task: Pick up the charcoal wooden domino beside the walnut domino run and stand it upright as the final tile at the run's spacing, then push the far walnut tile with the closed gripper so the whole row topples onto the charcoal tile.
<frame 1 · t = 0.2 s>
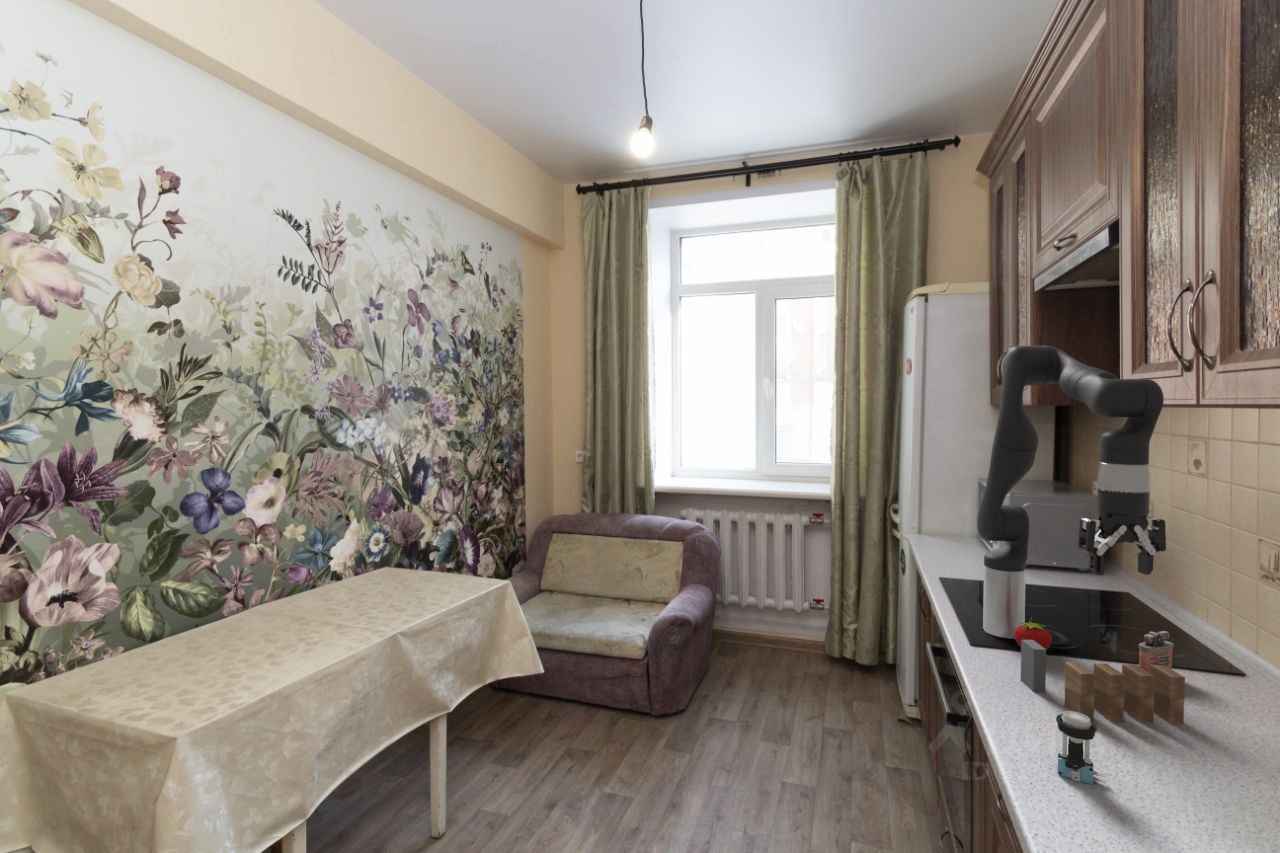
hand: (1120, 573, 112), 28 cm above the counter, fingers open, 8 cm apart
walnut tile 3: (1107, 714, 116), on the counter
push button: (1080, 779, 97), on the counter
strawberry: (1032, 659, 141), on the counter
charcoal tile: (1032, 686, 128), on the counter
walnut tile 1: (1166, 717, 115), on the counter
walnut tile 2: (1136, 716, 116), on the counter
lighter: (1155, 678, 131), on the counter
walnut tile 4: (1078, 713, 117), on the counter
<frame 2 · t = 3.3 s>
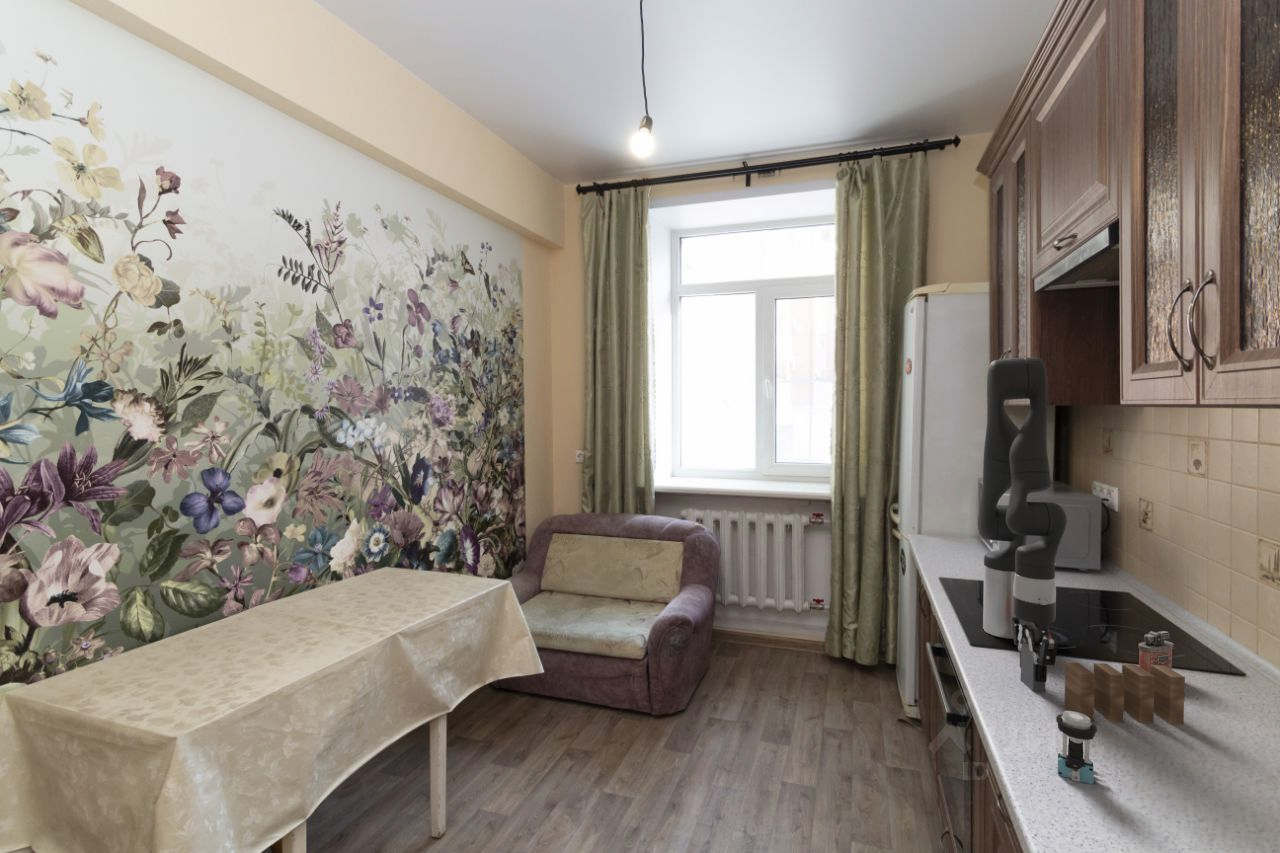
hand: (1032, 674, 128), 2 cm above the counter, fingers closed on charcoal tile, 5 cm apart
charcoal tile: (1032, 686, 128), on the counter, touching gripper
everything else where it was.
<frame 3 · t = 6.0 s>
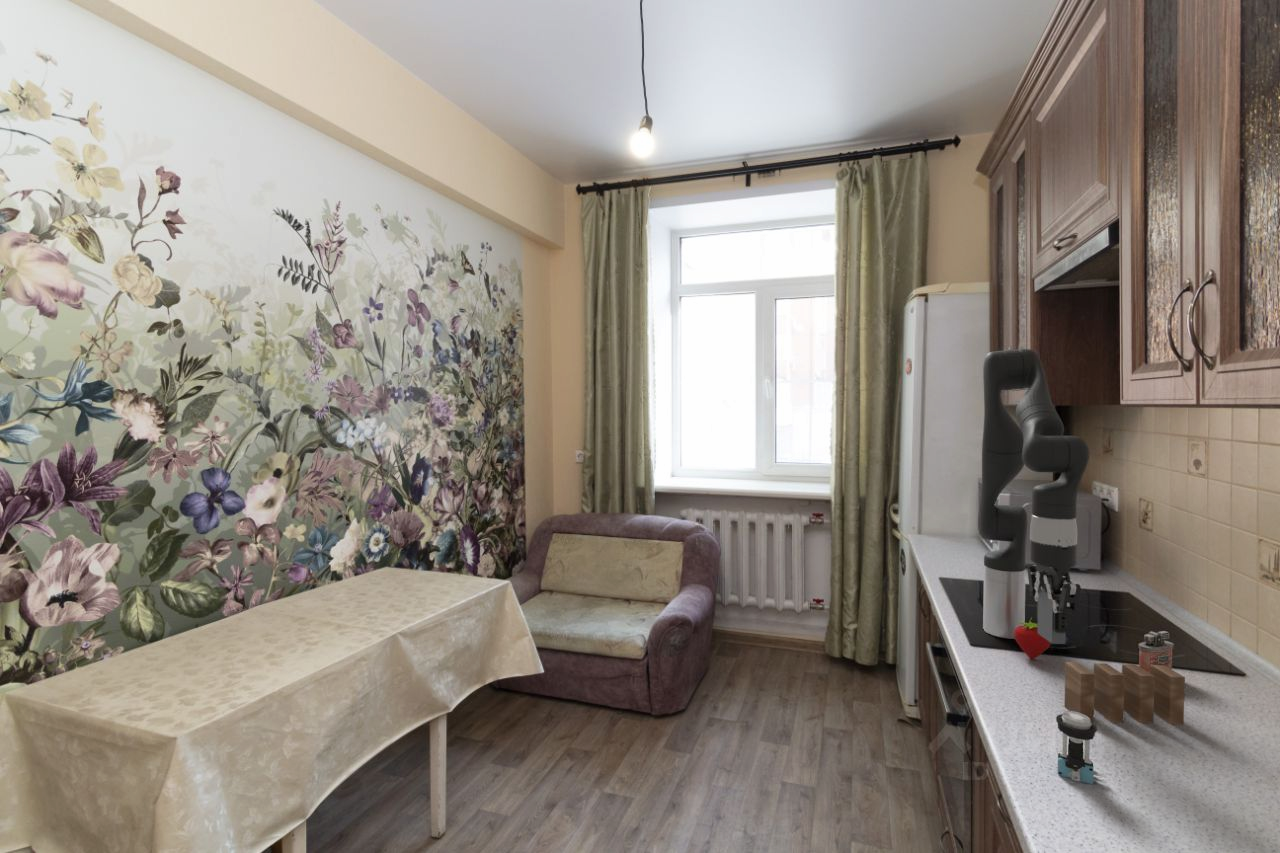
hand: (1051, 626, 117), 17 cm above the counter, fingers closed on charcoal tile, 5 cm apart
charcoal tile: (1051, 638, 117), point 15 cm above the counter, touching gripper
everything else where it was.
when the fingers open (3 cm above the counter, at t = 8.9 s): charcoal tile stays where it is, on the counter.
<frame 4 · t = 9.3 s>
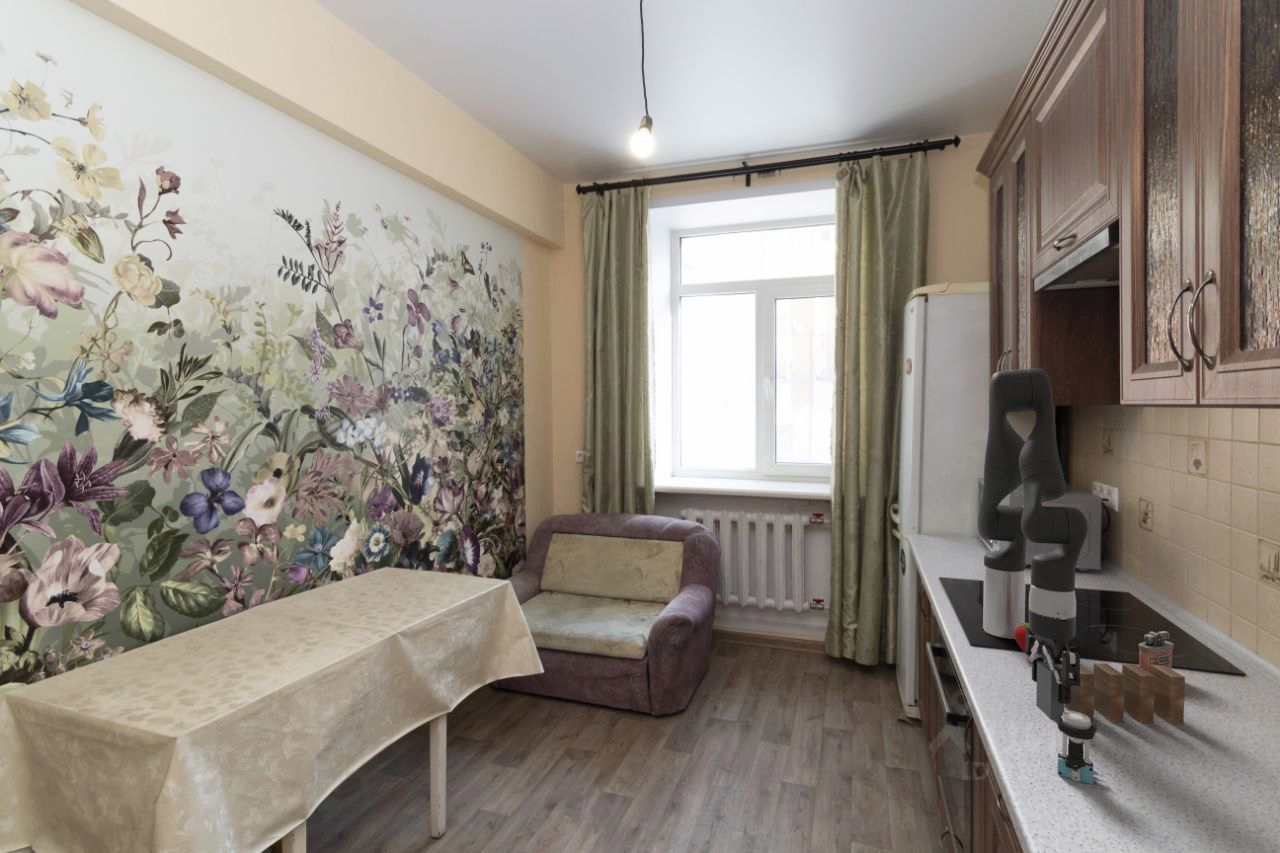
hand: (1050, 691, 117), 4 cm above the counter, fingers open, 8 cm apart
charcoal tile: (1049, 712, 118), on the counter
everything else where it was.
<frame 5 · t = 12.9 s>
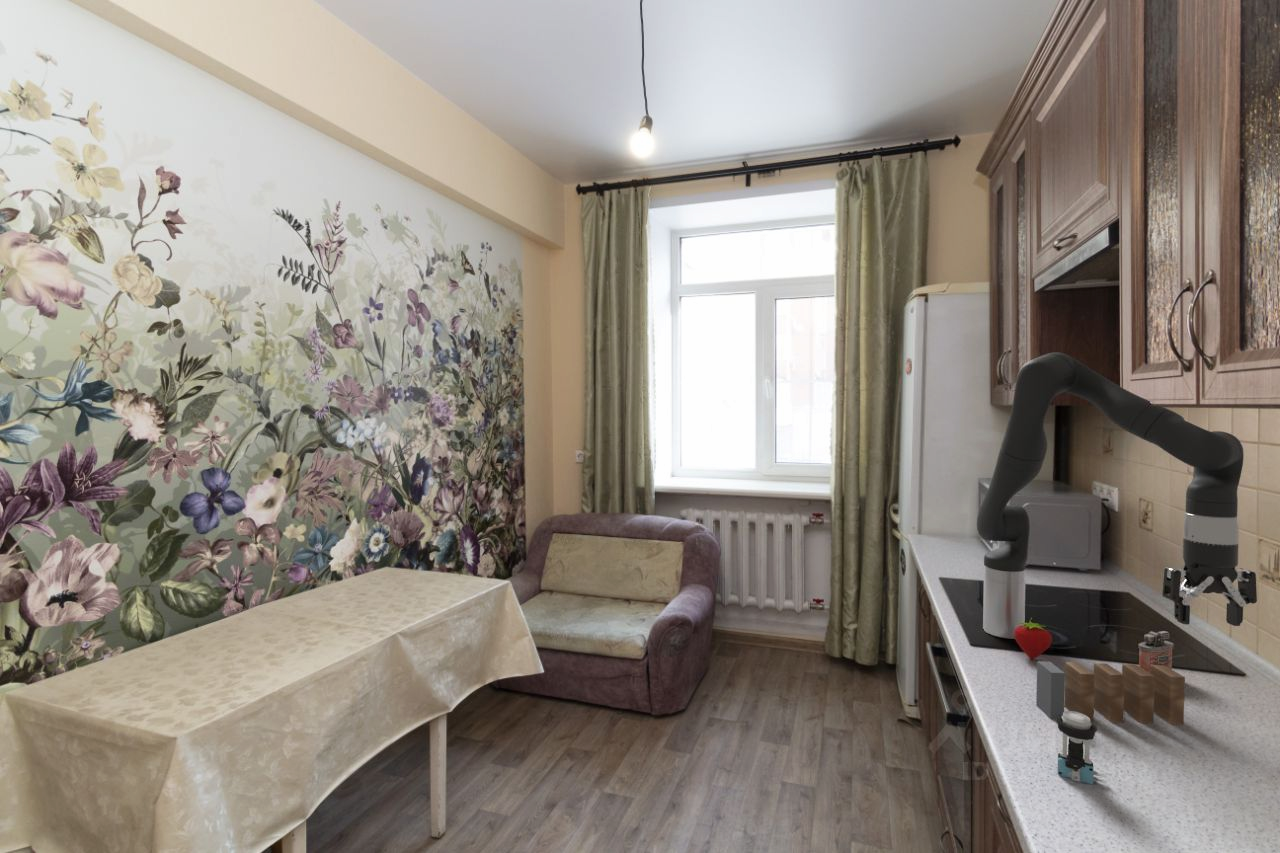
hand: (1208, 623, 113), 18 cm above the counter, fingers open, 8 cm apart
nothing on the counter moved.
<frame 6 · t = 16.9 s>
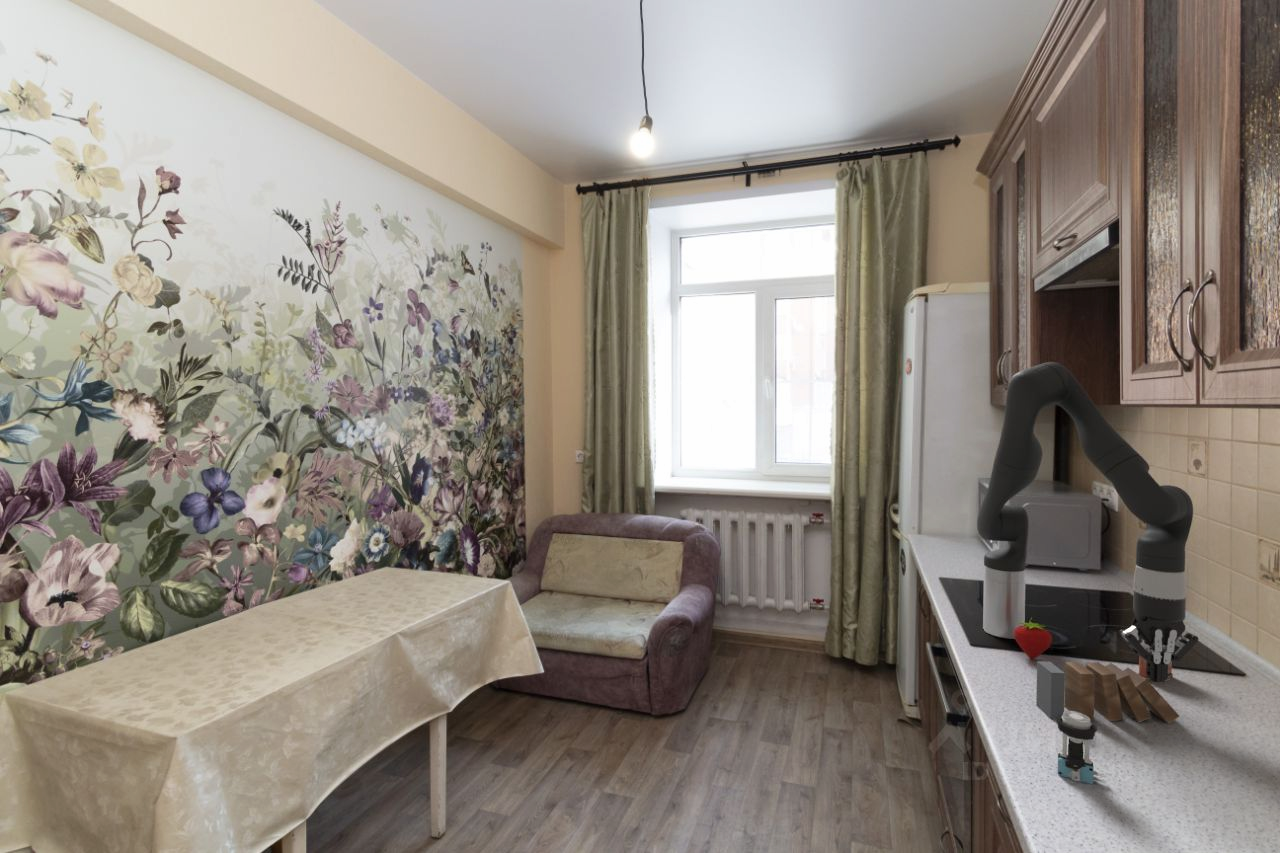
hand: (1156, 680, 115), 7 cm above the counter, fingers closed
walnut tile 3: (1107, 713, 116), on the counter, tilted 10°
walnut tile 1: (1164, 713, 115), point 1 cm above the counter, tilted 41°
walnut tile 2: (1135, 713, 116), point 1 cm above the counter, tilted 27°
everything else where it was.
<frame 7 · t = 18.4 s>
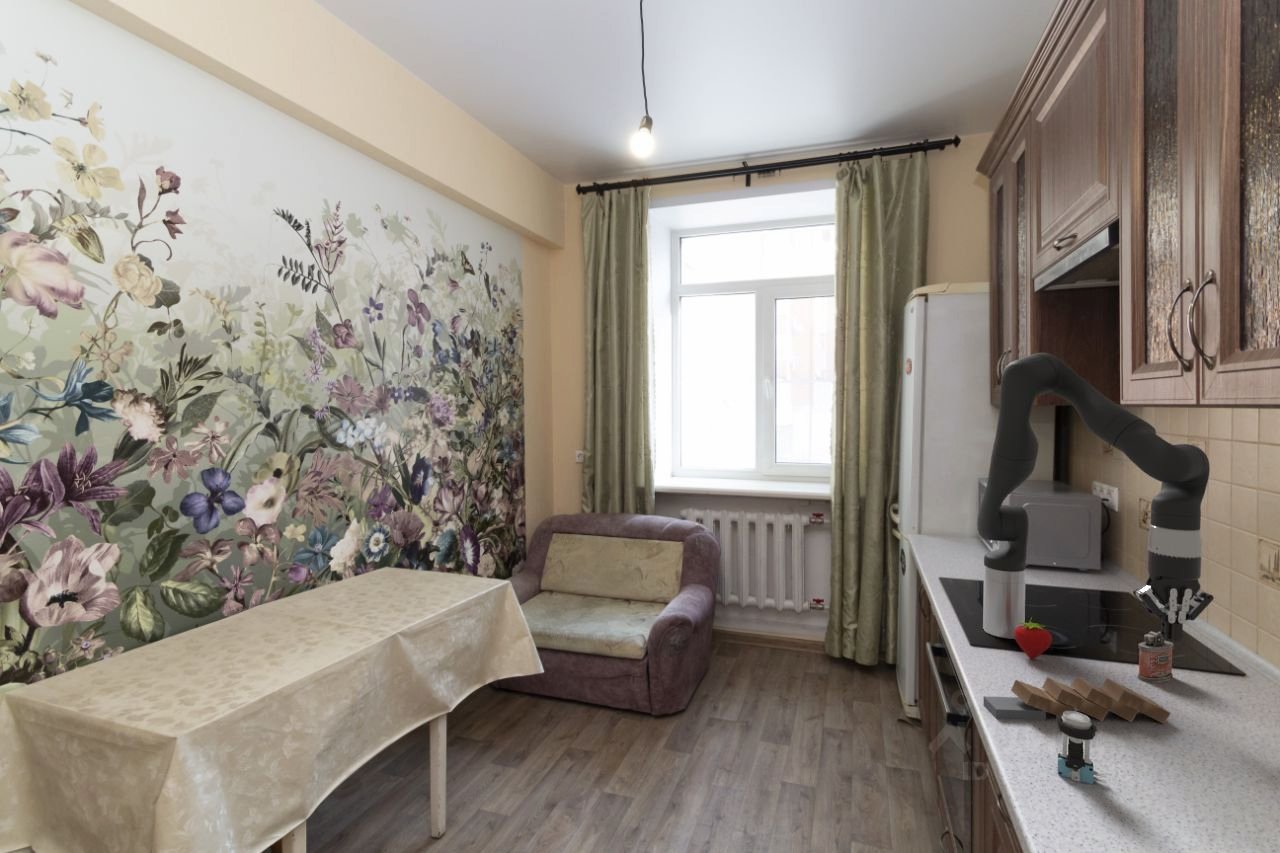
hand: (1171, 640, 115), 15 cm above the counter, fingers closed
walnut tile 3: (1097, 709, 116), point 1 cm above the counter, tilted 65°, touching walnut tile 2
charcoal tile: (1038, 710, 117), point 1 cm above the counter, tilted 90°
walnut tile 1: (1157, 711, 115), point 1 cm above the counter, tilted 63°, touching walnut tile 2
walnut tile 2: (1125, 709, 116), point 1 cm above the counter, tilted 62°, touching walnut tile 1, walnut tile 3
walnut tile 4: (1063, 707, 117), point 1 cm above the counter, tilted 68°
everything else where it was.
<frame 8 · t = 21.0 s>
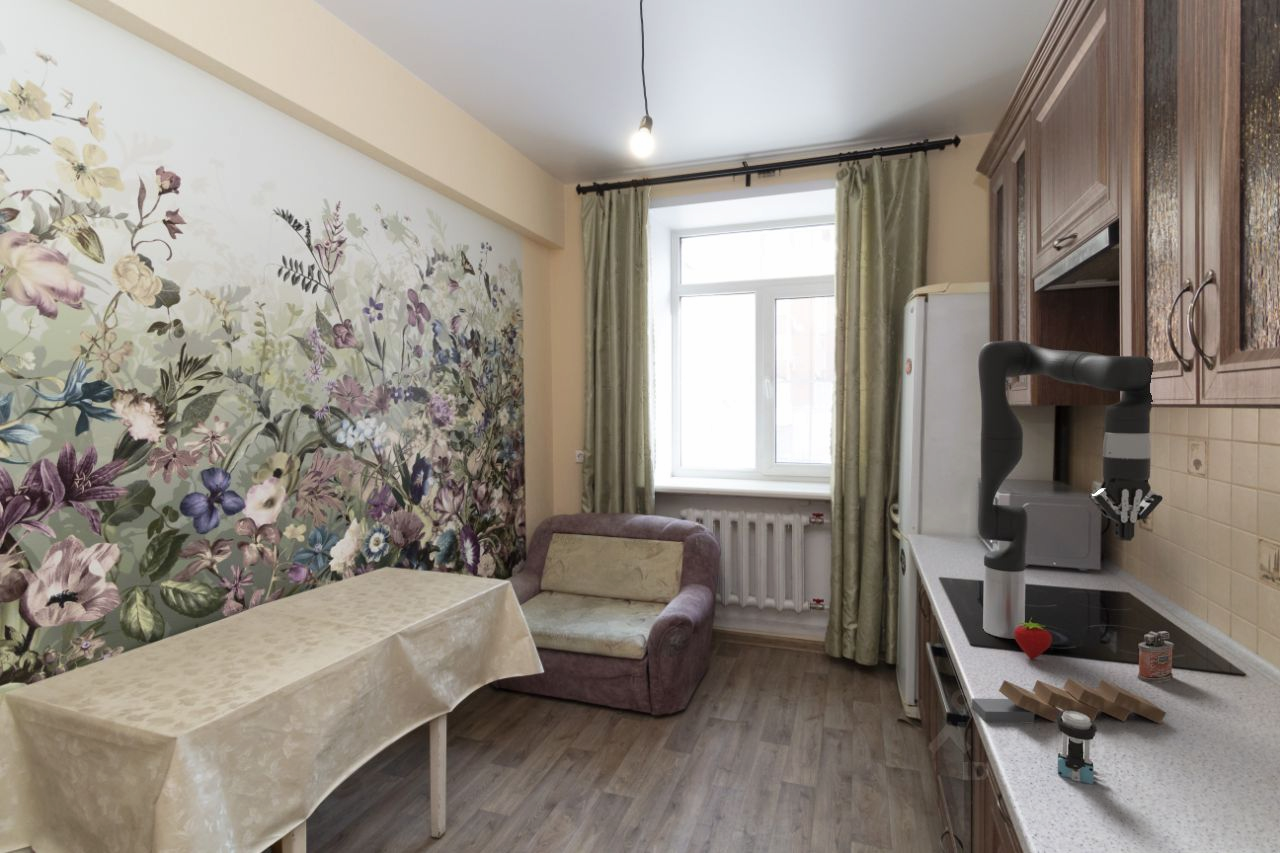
hand: (1124, 539, 123), 32 cm above the counter, fingers closed
walnut tile 3: (1087, 708, 117), point 1 cm above the counter, tilted 69°
charcoal tile: (1026, 711, 116), point 1 cm above the counter, tilted 90°
walnut tile 2: (1118, 709, 116), point 1 cm above the counter, tilted 65°, touching walnut tile 1
walnut tile 4: (1048, 709, 116), point 1 cm above the counter, tilted 64°
at the end: charcoal tile inside the target area (3.6 cm from its centre), point 0.8 cm above the counter; charcoal tile tilted 90°; walnut tile 4 tilted 62° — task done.
